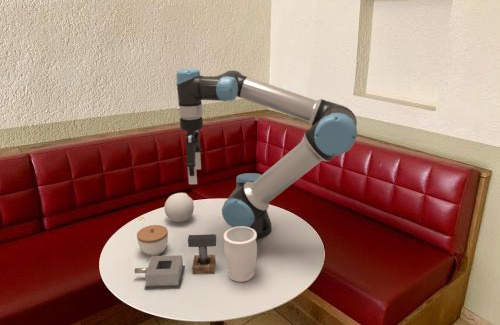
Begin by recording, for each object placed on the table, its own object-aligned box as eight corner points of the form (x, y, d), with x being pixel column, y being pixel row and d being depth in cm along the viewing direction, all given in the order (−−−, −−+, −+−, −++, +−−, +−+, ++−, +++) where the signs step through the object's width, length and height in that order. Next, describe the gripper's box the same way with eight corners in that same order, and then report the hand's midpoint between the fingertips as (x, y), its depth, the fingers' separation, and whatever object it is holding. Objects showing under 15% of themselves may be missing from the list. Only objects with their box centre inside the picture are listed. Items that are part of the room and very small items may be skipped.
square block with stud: (185, 266, 128) (184, 254, 126) (180, 288, 117) (178, 275, 116) (140, 268, 127) (138, 255, 126) (131, 289, 117) (129, 276, 115)
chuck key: (217, 264, 129) (216, 234, 125) (217, 269, 126) (215, 238, 122) (191, 265, 129) (188, 235, 124) (190, 270, 126) (187, 239, 122)
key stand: (215, 260, 131) (214, 254, 130) (213, 273, 124) (213, 267, 123) (195, 261, 130) (194, 255, 130) (192, 274, 124) (192, 267, 123)
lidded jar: (162, 261, 131) (159, 237, 128) (133, 257, 133) (130, 234, 130) (174, 244, 141) (171, 222, 138) (147, 241, 143) (144, 219, 140)
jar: (246, 288, 117) (245, 247, 111) (219, 277, 122) (216, 237, 117) (263, 270, 125) (263, 231, 120) (237, 261, 130) (236, 222, 125)
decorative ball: (200, 219, 158) (199, 193, 154) (178, 230, 150) (175, 203, 146) (182, 210, 166) (180, 186, 162) (160, 221, 157) (157, 195, 153)
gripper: (184, 109, 137) (189, 163, 144) (173, 127, 114) (179, 191, 121) (205, 108, 137) (208, 163, 145) (198, 126, 114) (202, 190, 121)
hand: (195, 176), depth 133 cm, fingers open, 13 cm apart
